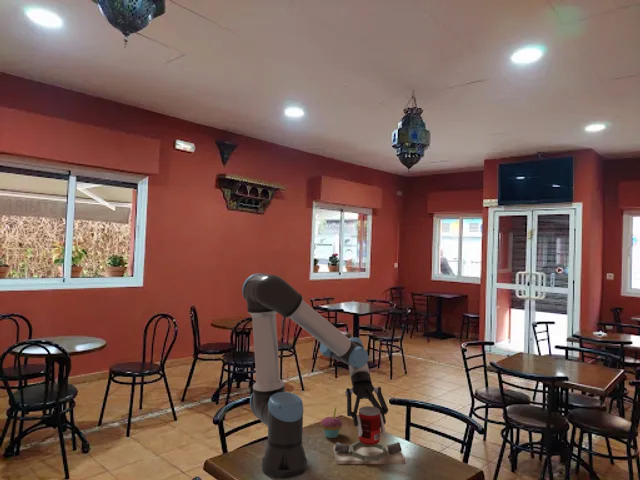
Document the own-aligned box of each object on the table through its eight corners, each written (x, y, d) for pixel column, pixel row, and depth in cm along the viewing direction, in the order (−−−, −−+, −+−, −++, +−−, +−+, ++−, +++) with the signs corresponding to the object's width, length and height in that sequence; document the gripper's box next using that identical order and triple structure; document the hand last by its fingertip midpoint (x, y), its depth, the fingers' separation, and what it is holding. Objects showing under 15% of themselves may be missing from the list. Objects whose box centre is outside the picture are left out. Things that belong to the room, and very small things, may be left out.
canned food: (379, 436, 163) (379, 406, 164) (380, 446, 155) (380, 414, 156) (358, 435, 164) (359, 405, 164) (358, 444, 156) (358, 413, 156)
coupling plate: (336, 464, 152) (336, 450, 152) (333, 448, 165) (333, 435, 165) (405, 464, 153) (405, 450, 154) (397, 448, 166) (397, 435, 166)
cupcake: (345, 434, 178) (346, 404, 178) (335, 442, 170) (335, 410, 171) (327, 429, 182) (327, 400, 182) (316, 436, 175) (316, 406, 175)
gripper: (383, 379, 177) (397, 436, 161) (332, 381, 173) (341, 440, 157) (387, 369, 172) (402, 427, 156) (335, 371, 168) (345, 431, 152)
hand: (372, 433), depth 156 cm, fingers closed on canned food, 8 cm apart
